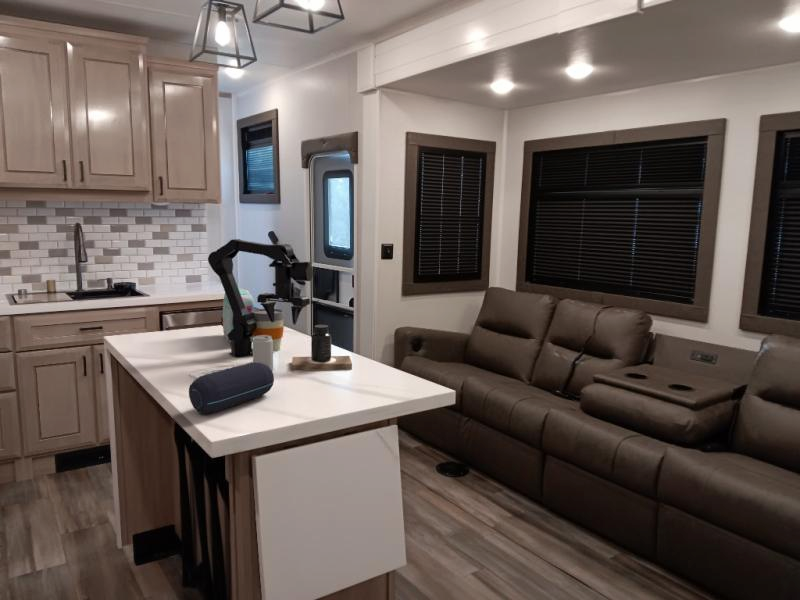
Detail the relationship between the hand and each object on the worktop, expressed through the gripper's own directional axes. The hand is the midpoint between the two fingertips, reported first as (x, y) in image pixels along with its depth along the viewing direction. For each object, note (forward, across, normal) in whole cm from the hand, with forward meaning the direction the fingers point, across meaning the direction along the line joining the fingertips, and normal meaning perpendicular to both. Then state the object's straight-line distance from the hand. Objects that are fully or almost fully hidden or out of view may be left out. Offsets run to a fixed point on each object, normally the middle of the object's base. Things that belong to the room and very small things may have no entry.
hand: (283, 323), depth 208 cm
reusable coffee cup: (+13, +13, -9) cm, 21 cm away
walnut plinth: (+13, -17, +2) cm, 21 cm away
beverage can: (+13, -4, +18) cm, 23 cm away
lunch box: (+13, +34, -18) cm, 41 cm away
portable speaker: (+13, -16, +48) cm, 52 cm away
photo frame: (+14, +4, +29) cm, 32 cm away
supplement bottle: (+11, -17, +2) cm, 20 cm away
